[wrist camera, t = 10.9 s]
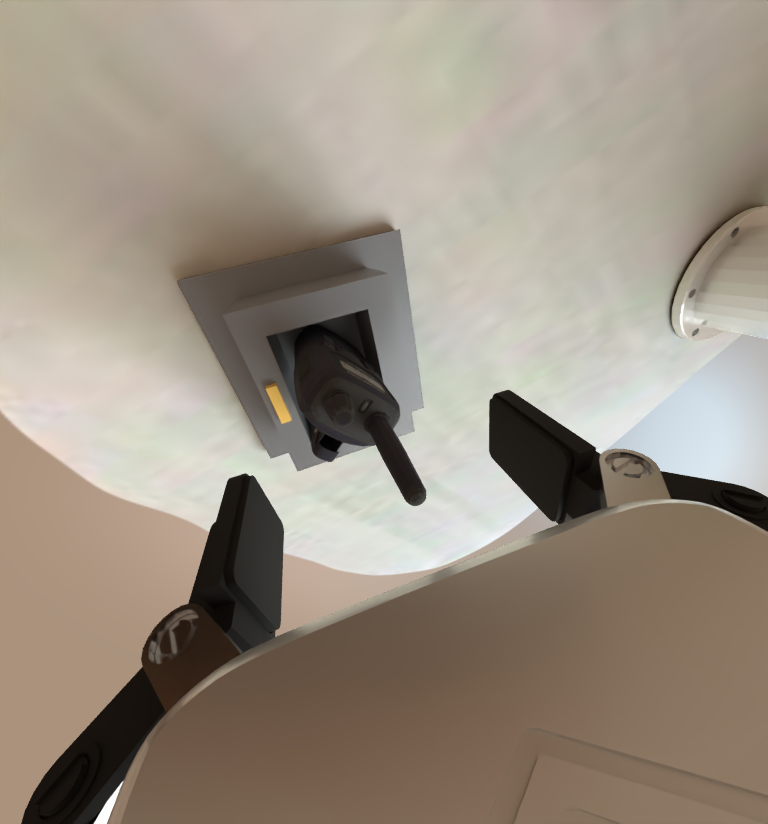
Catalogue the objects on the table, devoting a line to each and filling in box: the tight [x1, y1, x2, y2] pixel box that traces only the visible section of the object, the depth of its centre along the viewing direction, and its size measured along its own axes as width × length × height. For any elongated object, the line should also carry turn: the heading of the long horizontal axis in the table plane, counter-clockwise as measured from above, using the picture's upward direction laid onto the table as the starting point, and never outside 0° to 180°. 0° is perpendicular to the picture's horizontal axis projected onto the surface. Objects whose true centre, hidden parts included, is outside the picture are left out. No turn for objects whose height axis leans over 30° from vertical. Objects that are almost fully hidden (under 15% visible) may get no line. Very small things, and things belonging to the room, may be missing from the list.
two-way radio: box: [294, 325, 426, 506], centre depth 15 cm, size 6×4×15 cm
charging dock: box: [177, 230, 424, 471], centre depth 20 cm, size 14×14×6 cm
